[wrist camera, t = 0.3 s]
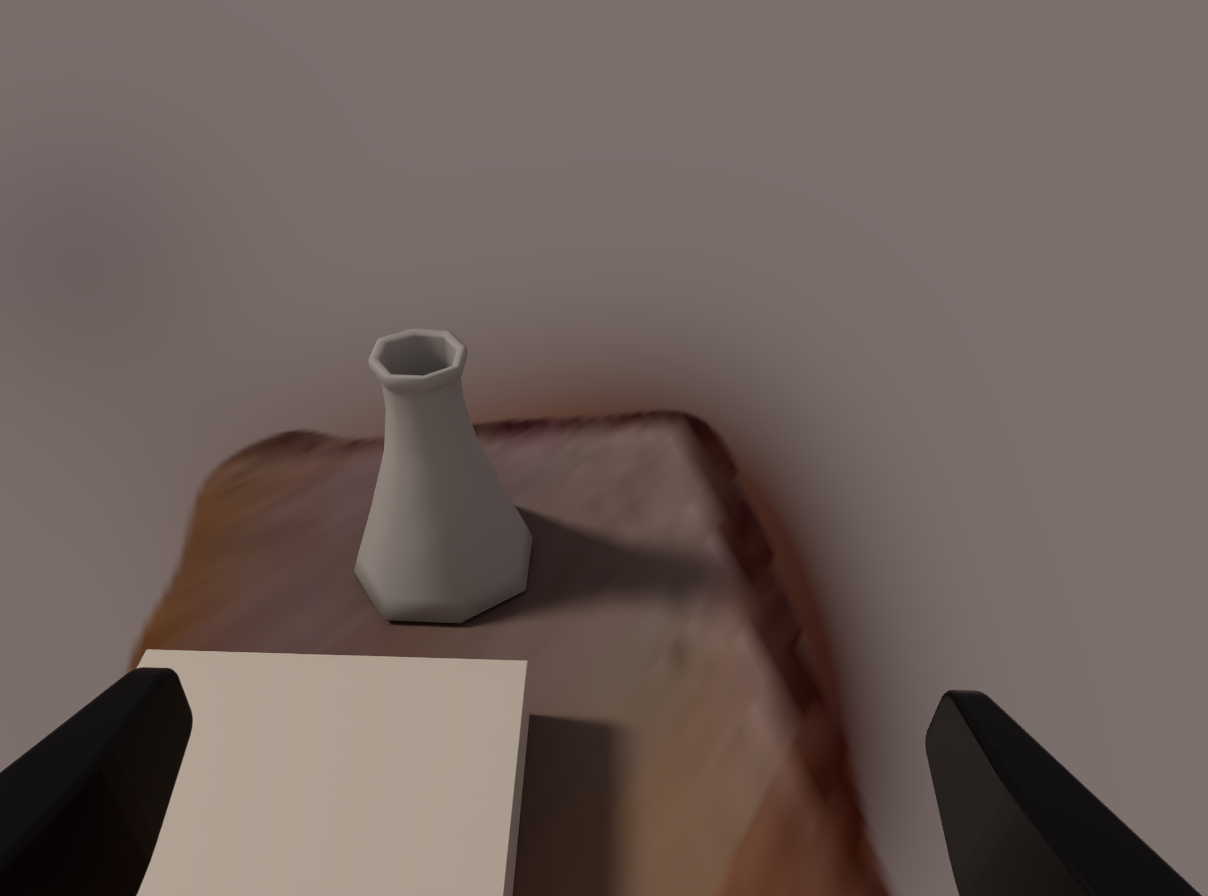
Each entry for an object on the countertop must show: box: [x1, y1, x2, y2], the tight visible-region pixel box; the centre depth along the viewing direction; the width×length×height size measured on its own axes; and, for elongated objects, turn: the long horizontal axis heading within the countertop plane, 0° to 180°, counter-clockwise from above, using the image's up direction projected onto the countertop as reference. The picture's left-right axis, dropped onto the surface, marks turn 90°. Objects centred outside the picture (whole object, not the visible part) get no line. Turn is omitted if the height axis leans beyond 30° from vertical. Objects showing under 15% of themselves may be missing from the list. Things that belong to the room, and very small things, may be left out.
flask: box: [354, 329, 533, 623], centre depth 29 cm, size 7×7×10 cm
